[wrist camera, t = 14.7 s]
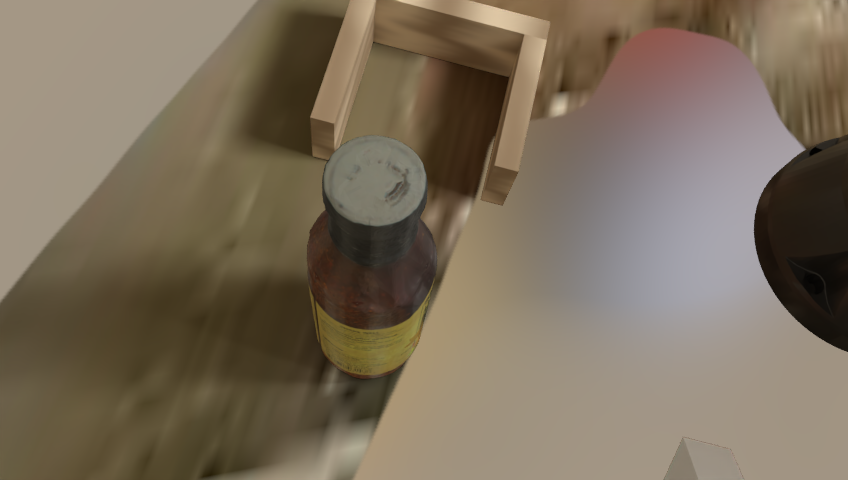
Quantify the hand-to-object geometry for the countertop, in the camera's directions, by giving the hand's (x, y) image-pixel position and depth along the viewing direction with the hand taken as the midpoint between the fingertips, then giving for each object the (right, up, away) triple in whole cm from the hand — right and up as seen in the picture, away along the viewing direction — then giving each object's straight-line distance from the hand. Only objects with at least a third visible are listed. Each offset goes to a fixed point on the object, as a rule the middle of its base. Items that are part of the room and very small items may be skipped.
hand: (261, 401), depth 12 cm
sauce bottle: (-1, -3, +35) cm, 36 cm away
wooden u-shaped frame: (+3, +12, +41) cm, 43 cm away
